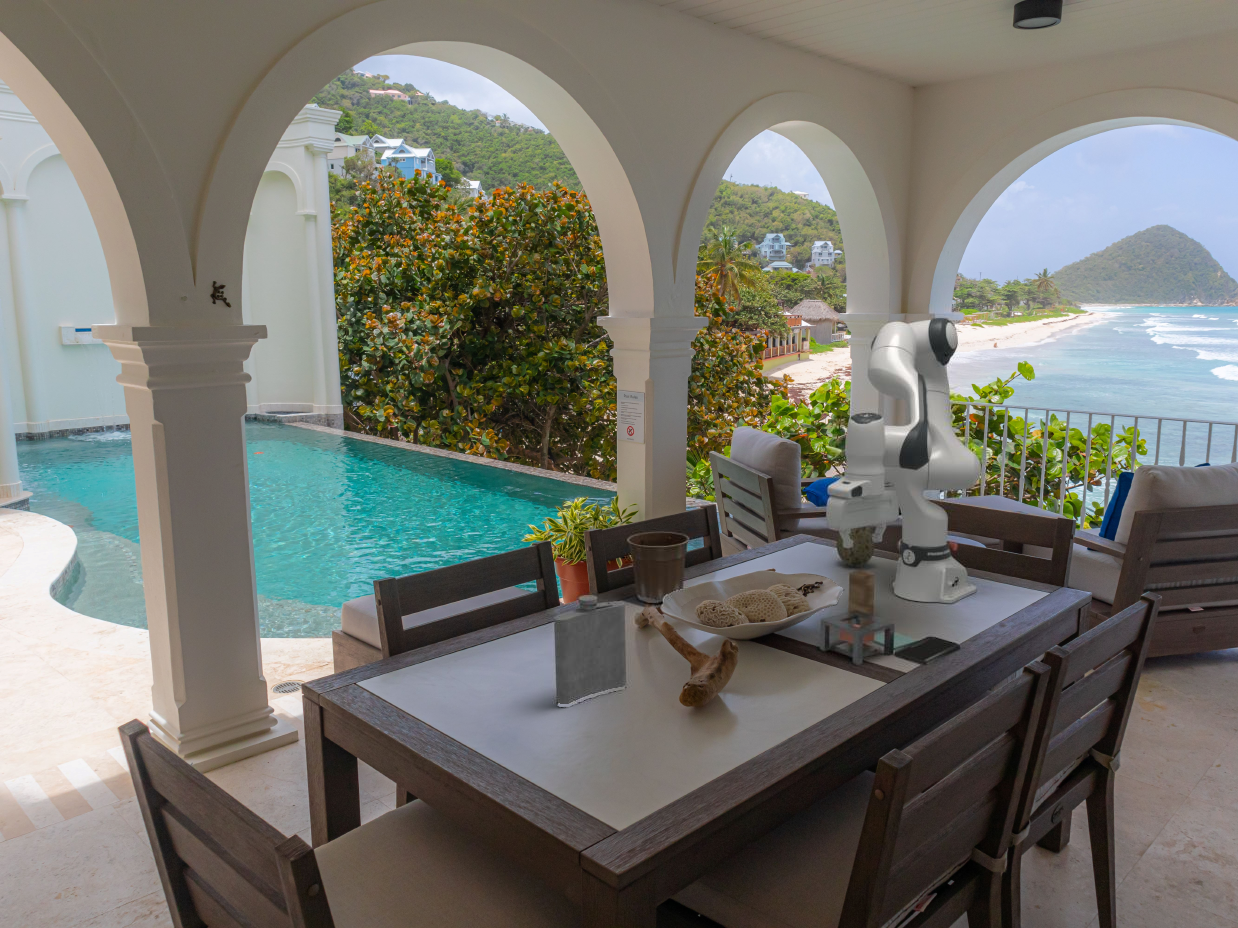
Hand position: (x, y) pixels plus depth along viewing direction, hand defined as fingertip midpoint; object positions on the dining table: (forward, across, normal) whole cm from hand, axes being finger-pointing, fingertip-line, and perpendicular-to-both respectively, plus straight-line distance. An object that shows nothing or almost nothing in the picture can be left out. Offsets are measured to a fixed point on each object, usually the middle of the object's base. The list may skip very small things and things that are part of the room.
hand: (862, 544), depth 202 cm
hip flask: (+22, +70, -5) cm, 73 cm away
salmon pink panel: (+18, +10, +8) cm, 22 cm away
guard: (+21, +10, +8) cm, 25 cm away
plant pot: (+21, +24, -48) cm, 58 cm away
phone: (+22, -3, +17) cm, 27 cm away
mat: (+21, -1, +8) cm, 22 cm away
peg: (+21, 0, 0) cm, 21 cm away
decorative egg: (+20, -40, -39) cm, 60 cm away
